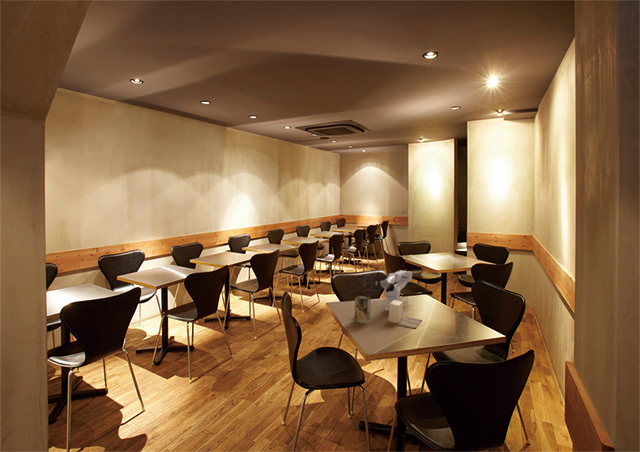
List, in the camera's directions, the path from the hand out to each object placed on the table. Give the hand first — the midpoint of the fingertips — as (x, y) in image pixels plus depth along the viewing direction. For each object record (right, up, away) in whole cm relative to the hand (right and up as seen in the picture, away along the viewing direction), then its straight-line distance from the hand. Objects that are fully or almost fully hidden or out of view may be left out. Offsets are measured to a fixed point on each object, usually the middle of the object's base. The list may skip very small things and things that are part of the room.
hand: (381, 289), depth 224 cm
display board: (+18, -21, -6) cm, 28 cm away
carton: (+9, -20, -1) cm, 22 cm away
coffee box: (-13, -20, -4) cm, 25 cm away
